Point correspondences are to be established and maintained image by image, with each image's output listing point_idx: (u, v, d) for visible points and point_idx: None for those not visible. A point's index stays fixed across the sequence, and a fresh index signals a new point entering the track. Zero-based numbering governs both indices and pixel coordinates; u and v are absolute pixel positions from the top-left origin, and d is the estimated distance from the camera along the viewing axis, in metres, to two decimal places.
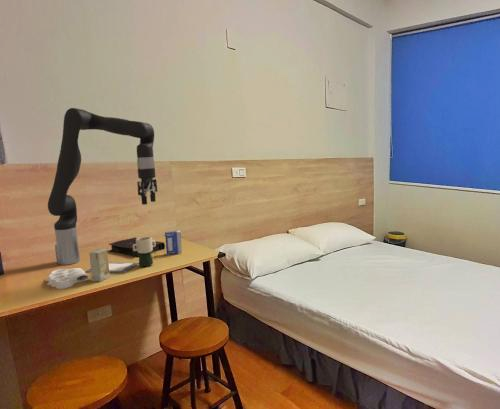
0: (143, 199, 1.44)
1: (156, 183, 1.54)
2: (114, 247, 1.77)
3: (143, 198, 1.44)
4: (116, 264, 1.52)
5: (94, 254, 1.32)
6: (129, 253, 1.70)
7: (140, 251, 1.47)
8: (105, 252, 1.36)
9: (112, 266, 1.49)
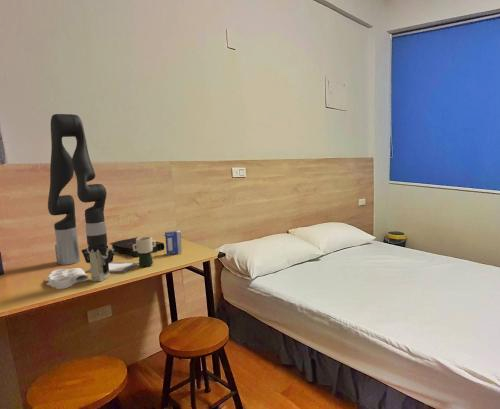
0: (107, 267, 1.35)
1: None
2: (114, 247, 1.77)
3: (107, 266, 1.35)
4: (116, 264, 1.52)
5: (94, 254, 1.32)
6: (128, 253, 1.70)
7: (140, 251, 1.47)
8: None
9: (112, 266, 1.49)
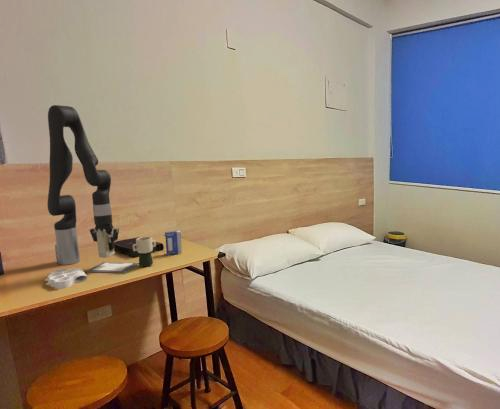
0: (113, 245, 1.50)
1: None
2: (115, 246, 1.78)
3: (113, 244, 1.50)
4: (116, 264, 1.52)
5: (101, 233, 1.46)
6: (127, 253, 1.70)
7: (140, 251, 1.47)
8: None
9: (112, 266, 1.49)
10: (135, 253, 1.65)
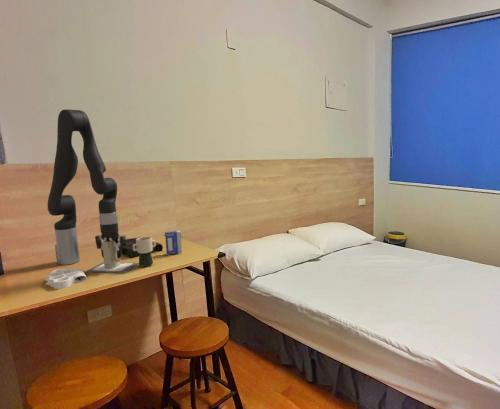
0: (121, 252, 1.48)
1: None
2: None
3: (121, 251, 1.48)
4: None
5: (106, 243, 1.45)
6: (126, 253, 1.70)
7: (140, 251, 1.47)
8: None
9: None
10: (133, 253, 1.65)
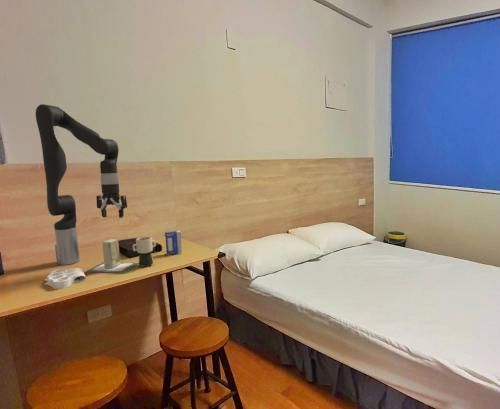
0: (122, 212, 1.51)
1: None
2: None
3: (122, 211, 1.51)
4: None
5: (107, 243, 1.45)
6: (125, 253, 1.70)
7: (140, 251, 1.47)
8: (116, 242, 1.49)
9: None
10: (131, 253, 1.65)
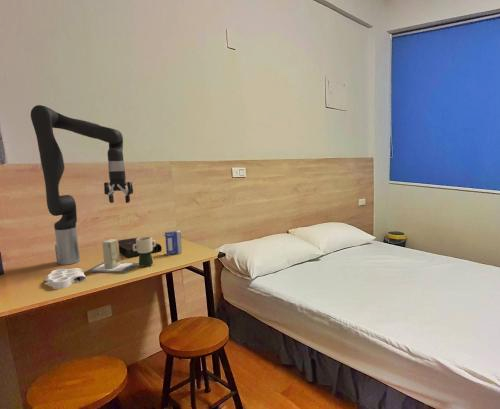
0: (129, 197, 1.62)
1: None
2: None
3: (129, 197, 1.62)
4: None
5: (107, 243, 1.45)
6: (124, 253, 1.70)
7: (140, 251, 1.47)
8: (116, 242, 1.49)
9: None
10: (130, 253, 1.65)
